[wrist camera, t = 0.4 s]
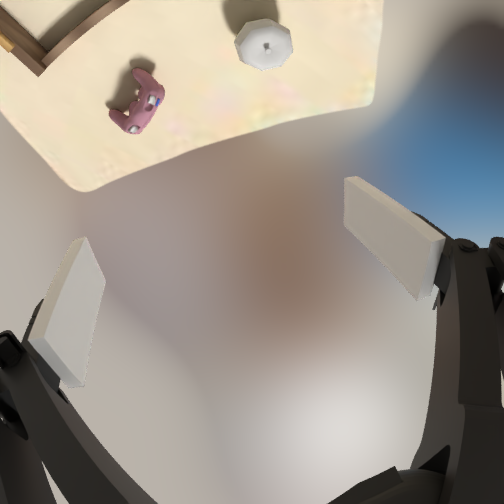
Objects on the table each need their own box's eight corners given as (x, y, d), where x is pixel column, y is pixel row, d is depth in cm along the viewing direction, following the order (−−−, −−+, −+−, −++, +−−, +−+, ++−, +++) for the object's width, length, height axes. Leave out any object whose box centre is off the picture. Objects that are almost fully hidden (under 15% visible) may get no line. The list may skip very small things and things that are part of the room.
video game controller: (128, 113, 43) (142, 142, 42) (105, 113, 39) (117, 143, 39) (158, 68, 37) (175, 96, 36) (133, 64, 33) (148, 92, 33)
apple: (295, 39, 35) (310, 57, 32) (251, 65, 38) (260, 86, 36) (265, 1, 29) (278, 13, 26) (218, 31, 32) (223, 47, 29)
